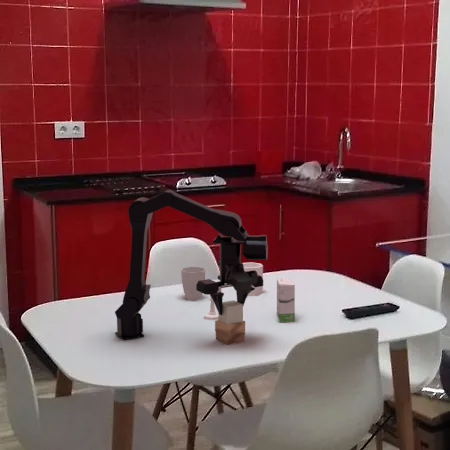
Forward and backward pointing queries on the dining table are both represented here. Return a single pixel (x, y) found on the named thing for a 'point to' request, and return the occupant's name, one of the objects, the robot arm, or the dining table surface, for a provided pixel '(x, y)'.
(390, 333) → the dining table surface
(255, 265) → the mug
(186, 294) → the cup
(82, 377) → the dining table surface
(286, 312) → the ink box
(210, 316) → the chess piece
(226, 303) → the cube
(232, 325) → the tower top
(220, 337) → the tower base
